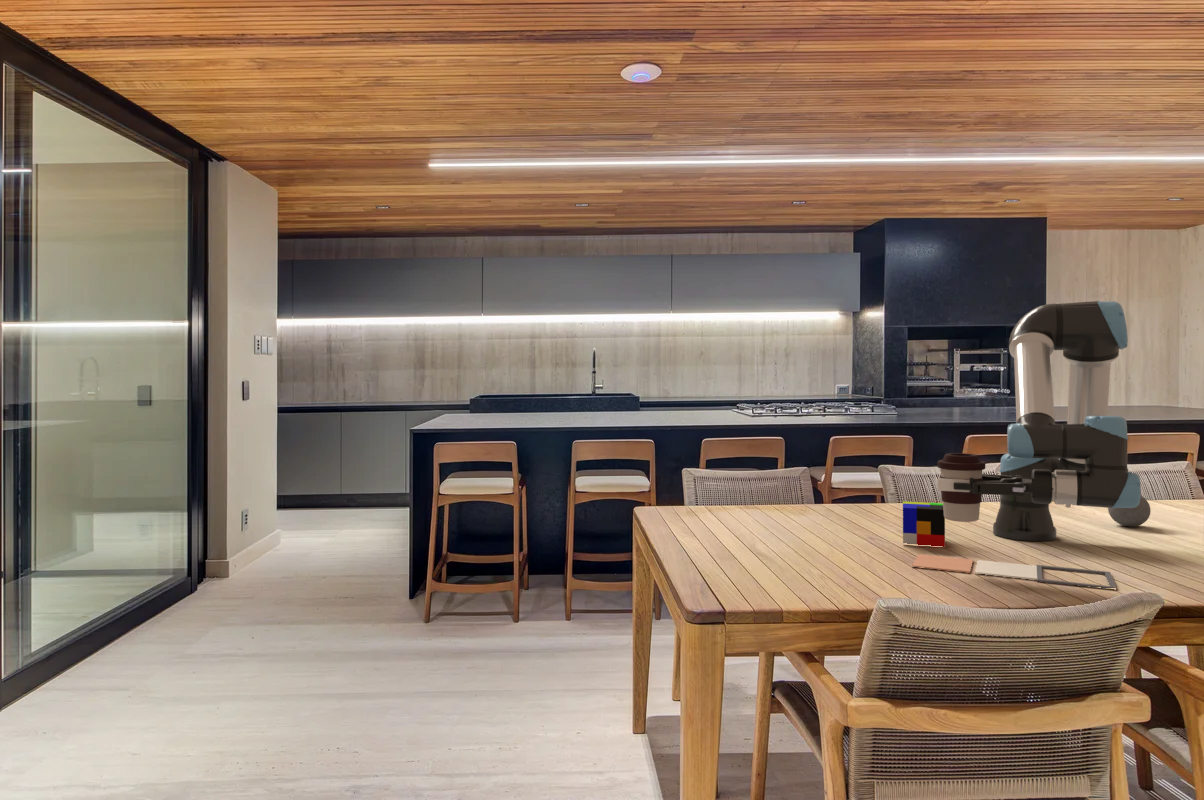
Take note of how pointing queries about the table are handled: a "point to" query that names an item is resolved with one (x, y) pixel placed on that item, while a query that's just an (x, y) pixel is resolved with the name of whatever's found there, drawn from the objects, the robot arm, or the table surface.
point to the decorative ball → (1131, 514)
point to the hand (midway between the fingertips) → (939, 481)
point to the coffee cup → (961, 503)
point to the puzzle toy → (923, 523)
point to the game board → (1001, 569)
